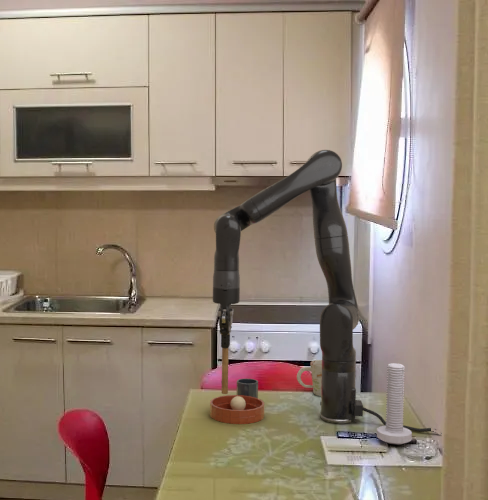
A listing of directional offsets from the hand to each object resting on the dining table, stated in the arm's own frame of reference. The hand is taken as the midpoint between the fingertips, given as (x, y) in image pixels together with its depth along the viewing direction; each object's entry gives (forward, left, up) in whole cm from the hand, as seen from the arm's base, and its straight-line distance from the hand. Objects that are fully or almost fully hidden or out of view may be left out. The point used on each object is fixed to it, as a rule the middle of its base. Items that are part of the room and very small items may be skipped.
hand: (225, 346), depth 195 cm
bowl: (-4, 0, -20) cm, 20 cm away
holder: (-6, -13, -20) cm, 24 cm away
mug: (-27, -28, -20) cm, 43 cm away
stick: (0, 0, -13) cm, 13 cm away
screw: (-45, +14, -20) cm, 51 cm away
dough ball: (-4, -3, -19) cm, 20 cm away
